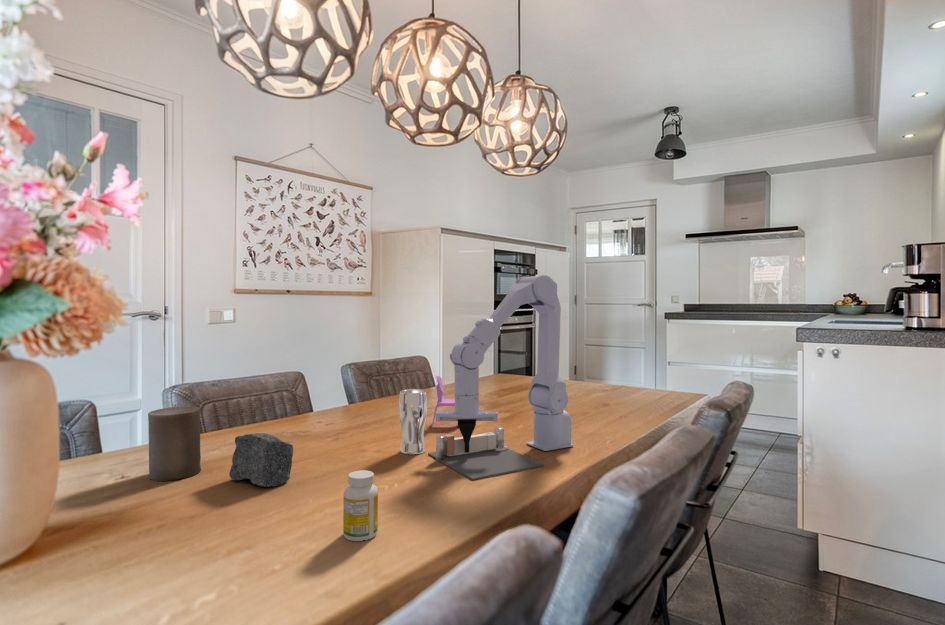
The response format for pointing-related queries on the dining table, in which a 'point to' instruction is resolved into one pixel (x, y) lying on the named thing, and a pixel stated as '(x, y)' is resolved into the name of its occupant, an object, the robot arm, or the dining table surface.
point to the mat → (488, 463)
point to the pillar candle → (174, 443)
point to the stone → (261, 459)
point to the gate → (475, 443)
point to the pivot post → (499, 439)
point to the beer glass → (413, 420)
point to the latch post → (440, 448)
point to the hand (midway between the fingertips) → (466, 451)
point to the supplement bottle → (360, 507)
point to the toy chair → (439, 394)
